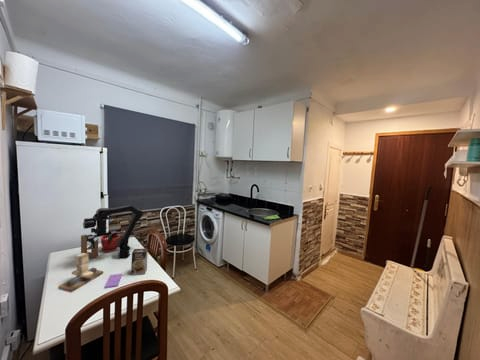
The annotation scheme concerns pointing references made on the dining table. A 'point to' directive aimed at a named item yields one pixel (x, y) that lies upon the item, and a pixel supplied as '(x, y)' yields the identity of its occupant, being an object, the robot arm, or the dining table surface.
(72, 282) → the stand
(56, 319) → the dining table surface
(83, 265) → the oak T piece
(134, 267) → the coffee box
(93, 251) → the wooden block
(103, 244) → the plant pot
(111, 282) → the sponges
